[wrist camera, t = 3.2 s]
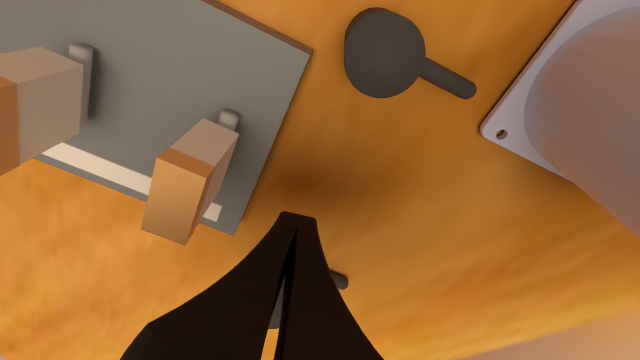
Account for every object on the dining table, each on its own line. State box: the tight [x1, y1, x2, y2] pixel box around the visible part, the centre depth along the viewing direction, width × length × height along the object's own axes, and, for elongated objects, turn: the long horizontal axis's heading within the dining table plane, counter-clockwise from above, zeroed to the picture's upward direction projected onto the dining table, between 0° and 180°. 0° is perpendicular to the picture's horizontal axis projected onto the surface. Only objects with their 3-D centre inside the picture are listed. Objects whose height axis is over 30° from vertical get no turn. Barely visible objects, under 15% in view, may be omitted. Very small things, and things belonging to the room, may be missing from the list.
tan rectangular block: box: [141, 110, 239, 245], centre depth 13 cm, size 2×4×5 cm, turn 155°
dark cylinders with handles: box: [268, 8, 476, 329], centre depth 16 cm, size 7×17×4 cm, turn 155°
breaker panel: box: [0, 0, 313, 236], centre depth 15 cm, size 17×11×2 cm, turn 65°
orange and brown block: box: [0, 43, 93, 176], centre depth 12 cm, size 2×4×5 cm, turn 155°
